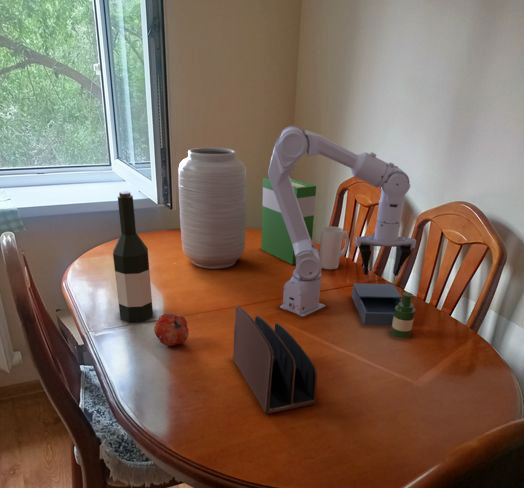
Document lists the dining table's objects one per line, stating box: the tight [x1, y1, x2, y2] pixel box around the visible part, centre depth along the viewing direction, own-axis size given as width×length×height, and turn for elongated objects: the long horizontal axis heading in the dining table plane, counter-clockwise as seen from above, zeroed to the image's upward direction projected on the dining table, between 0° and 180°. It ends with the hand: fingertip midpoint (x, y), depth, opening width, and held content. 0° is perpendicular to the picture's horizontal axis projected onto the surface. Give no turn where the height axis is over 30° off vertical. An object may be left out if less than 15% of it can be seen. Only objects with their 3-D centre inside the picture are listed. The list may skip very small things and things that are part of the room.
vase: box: [178, 147, 248, 270], centre depth 150 cm, size 20×20×34 cm
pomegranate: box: [153, 312, 189, 347], centre depth 109 cm, size 7×7×10 cm
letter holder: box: [232, 305, 318, 415], centre depth 95 cm, size 10×20×14 cm, turn 21°
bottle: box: [390, 291, 416, 339], centre depth 115 cm, size 5×5×11 cm
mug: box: [319, 225, 350, 270], centre depth 155 cm, size 10×7×12 cm, turn 115°
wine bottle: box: [112, 190, 154, 324], centre depth 115 cm, size 8×8×30 cm
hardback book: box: [260, 177, 317, 266], centre depth 160 cm, size 18×7×24 cm, turn 35°
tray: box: [351, 285, 402, 327], centre depth 127 cm, size 17×11×4 cm, turn 1°
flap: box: [353, 282, 403, 299], centre depth 130 cm, size 8×11×1 cm
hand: (380, 274), depth 124 cm, fingers open, 7 cm apart
